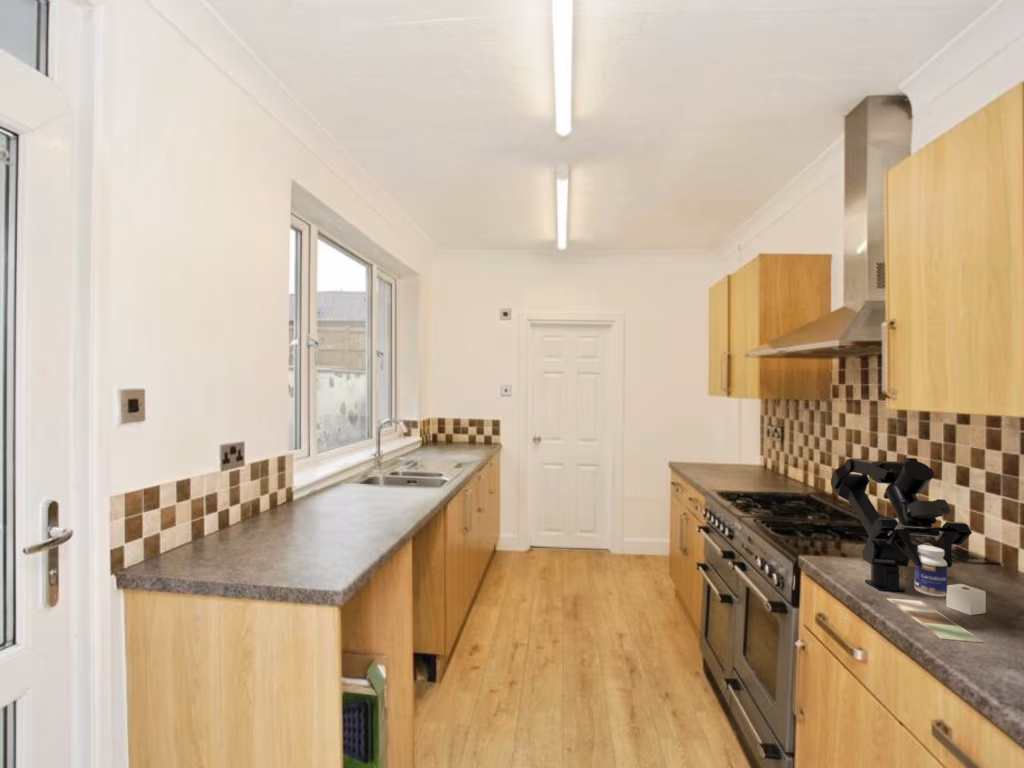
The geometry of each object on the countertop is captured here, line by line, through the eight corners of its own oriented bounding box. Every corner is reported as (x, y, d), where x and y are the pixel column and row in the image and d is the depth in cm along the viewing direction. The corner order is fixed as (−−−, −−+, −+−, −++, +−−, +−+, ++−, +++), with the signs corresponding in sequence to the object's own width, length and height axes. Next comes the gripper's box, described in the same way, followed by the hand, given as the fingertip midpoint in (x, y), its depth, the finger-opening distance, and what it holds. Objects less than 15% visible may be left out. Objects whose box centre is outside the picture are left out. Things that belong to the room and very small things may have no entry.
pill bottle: (921, 595, 113) (921, 550, 113) (909, 586, 118) (909, 542, 118) (952, 598, 111) (952, 552, 111) (939, 589, 117) (939, 545, 117)
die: (946, 606, 122) (946, 585, 122) (961, 604, 123) (961, 583, 123) (970, 615, 117) (970, 593, 117) (985, 613, 118) (985, 591, 118)
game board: (886, 599, 126) (886, 598, 126) (921, 601, 124) (921, 600, 124) (940, 638, 105) (940, 637, 105) (983, 642, 104) (983, 641, 104)
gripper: (875, 483, 121) (901, 544, 110) (966, 487, 117) (1002, 550, 106) (859, 509, 128) (882, 568, 117) (944, 514, 125) (976, 575, 114)
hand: (934, 565), depth 113 cm, fingers closed on pill bottle, 6 cm apart
